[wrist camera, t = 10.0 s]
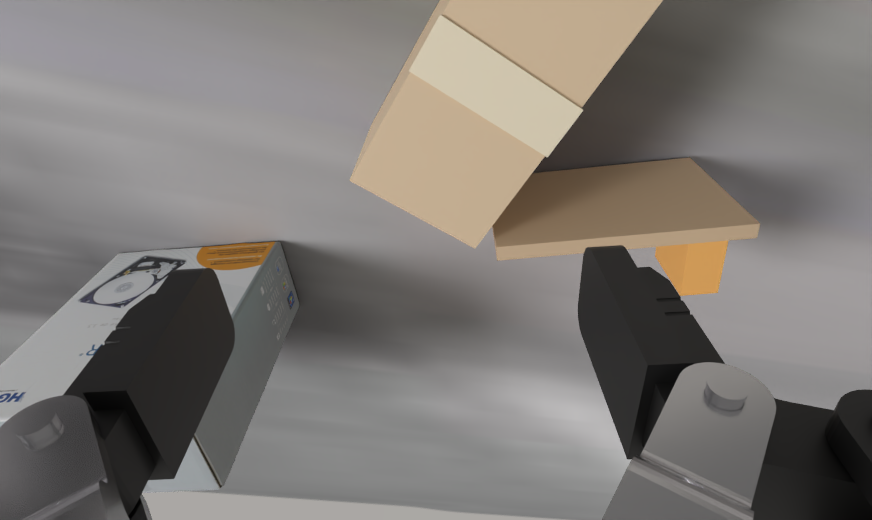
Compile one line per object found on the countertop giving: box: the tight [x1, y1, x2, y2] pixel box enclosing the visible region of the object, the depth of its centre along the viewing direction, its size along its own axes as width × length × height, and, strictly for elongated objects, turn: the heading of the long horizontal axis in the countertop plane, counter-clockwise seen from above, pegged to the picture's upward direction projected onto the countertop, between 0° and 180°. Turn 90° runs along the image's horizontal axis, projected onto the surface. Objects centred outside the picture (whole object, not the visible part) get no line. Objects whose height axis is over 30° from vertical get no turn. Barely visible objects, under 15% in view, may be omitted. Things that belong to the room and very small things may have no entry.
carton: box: [350, 0, 663, 248], centre depth 33 cm, size 9×18×11 cm, turn 149°
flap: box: [492, 158, 760, 296], centre depth 39 cm, size 5×16×11 cm, turn 97°
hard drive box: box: [0, 242, 300, 493], centre depth 41 cm, size 16×8×20 cm, turn 96°
